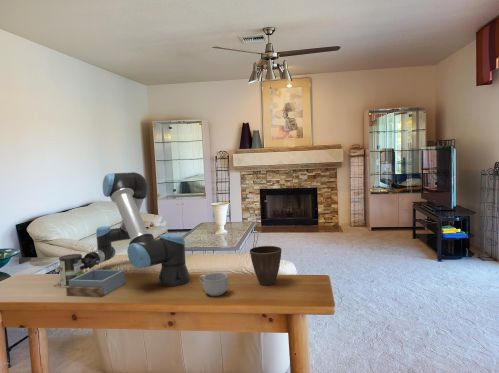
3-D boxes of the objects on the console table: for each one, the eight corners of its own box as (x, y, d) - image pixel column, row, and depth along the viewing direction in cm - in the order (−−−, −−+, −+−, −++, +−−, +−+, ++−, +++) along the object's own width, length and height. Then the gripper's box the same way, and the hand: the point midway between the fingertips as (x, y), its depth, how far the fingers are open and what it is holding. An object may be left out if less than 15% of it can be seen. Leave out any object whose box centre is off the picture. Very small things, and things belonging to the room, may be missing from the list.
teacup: (233, 292, 163) (232, 274, 162) (214, 300, 155) (214, 281, 154) (212, 286, 172) (211, 269, 172) (194, 293, 164) (193, 275, 164)
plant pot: (264, 290, 164) (262, 254, 163) (244, 282, 176) (243, 249, 175) (289, 283, 173) (288, 249, 172) (269, 276, 185) (267, 244, 184)
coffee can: (88, 281, 189) (86, 253, 189) (74, 287, 179) (72, 258, 179) (70, 280, 192) (68, 253, 191) (56, 287, 181) (54, 258, 181)
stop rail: (104, 296, 165) (103, 287, 165) (101, 297, 163) (101, 288, 163) (69, 294, 169) (68, 286, 169) (66, 296, 167) (66, 287, 167)
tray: (125, 283, 182) (124, 270, 181) (103, 295, 165) (102, 281, 165) (93, 282, 186) (93, 269, 185) (69, 294, 169) (68, 280, 168)
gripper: (112, 265, 200) (86, 278, 178) (76, 264, 205) (46, 276, 184) (112, 251, 200) (85, 262, 178) (75, 251, 205) (45, 261, 183)
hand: (65, 269), depth 181 cm, fingers closed on coffee can, 10 cm apart
